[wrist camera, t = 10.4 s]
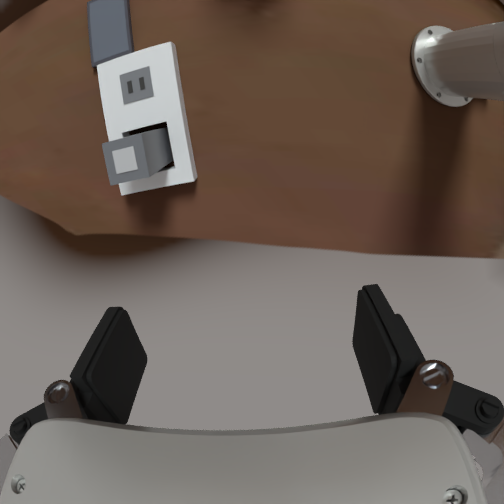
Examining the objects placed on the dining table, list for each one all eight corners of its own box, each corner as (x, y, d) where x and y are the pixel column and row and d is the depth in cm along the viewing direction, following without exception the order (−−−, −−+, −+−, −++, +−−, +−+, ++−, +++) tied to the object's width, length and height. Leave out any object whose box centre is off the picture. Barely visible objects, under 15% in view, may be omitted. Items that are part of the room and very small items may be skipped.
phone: (128, -12, 25) (125, -14, 24) (134, 53, 30) (131, 52, 29) (90, 3, 25) (86, 2, 24) (95, 67, 30) (91, 67, 29)
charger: (167, 126, 35) (141, 133, 26) (173, 160, 37) (149, 177, 28) (135, 134, 35) (101, 143, 26) (141, 166, 37) (110, 185, 28)
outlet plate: (175, 45, 30) (170, 41, 28) (197, 177, 38) (193, 181, 36) (104, 67, 30) (96, 65, 28) (128, 190, 38) (121, 195, 36)
